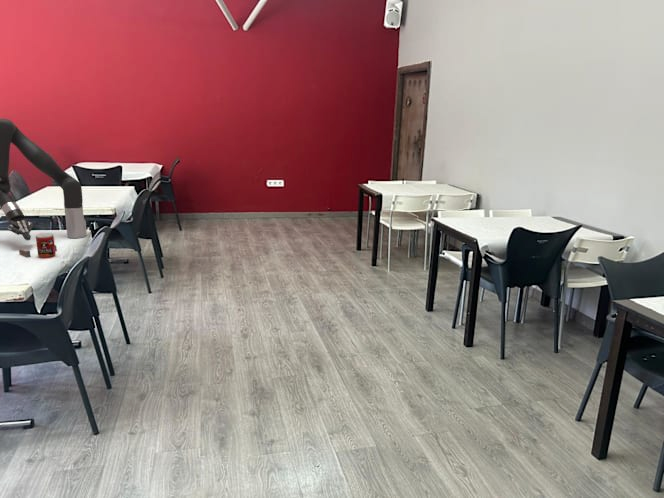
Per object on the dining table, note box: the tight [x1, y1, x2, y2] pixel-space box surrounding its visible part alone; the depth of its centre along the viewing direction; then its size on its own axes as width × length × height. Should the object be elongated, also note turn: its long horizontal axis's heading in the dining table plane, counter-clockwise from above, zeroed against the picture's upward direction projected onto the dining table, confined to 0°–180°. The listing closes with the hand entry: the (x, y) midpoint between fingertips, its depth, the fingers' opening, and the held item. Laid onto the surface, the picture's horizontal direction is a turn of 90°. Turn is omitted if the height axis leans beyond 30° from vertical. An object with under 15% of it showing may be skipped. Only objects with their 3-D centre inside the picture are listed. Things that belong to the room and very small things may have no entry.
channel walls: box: [18, 248, 26, 257], centre depth 254 cm, size 14×6×2 cm, turn 148°
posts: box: [24, 244, 58, 258], centre depth 252 cm, size 15×2×3 cm, turn 148°
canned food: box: [35, 232, 56, 259], centre depth 248 cm, size 8×8×11 cm
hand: (28, 239), depth 257 cm, fingers closed
